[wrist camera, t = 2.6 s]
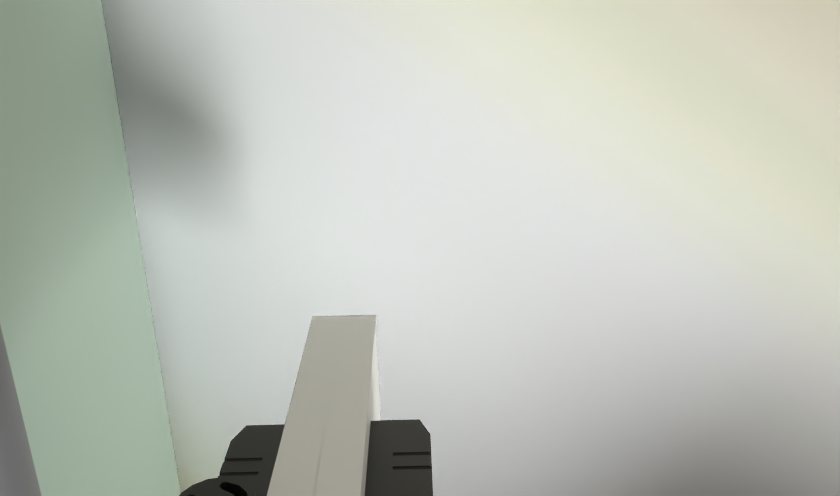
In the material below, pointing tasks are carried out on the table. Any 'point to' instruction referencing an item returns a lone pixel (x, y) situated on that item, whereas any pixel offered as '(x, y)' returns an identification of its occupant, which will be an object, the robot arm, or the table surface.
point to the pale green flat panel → (72, 271)
